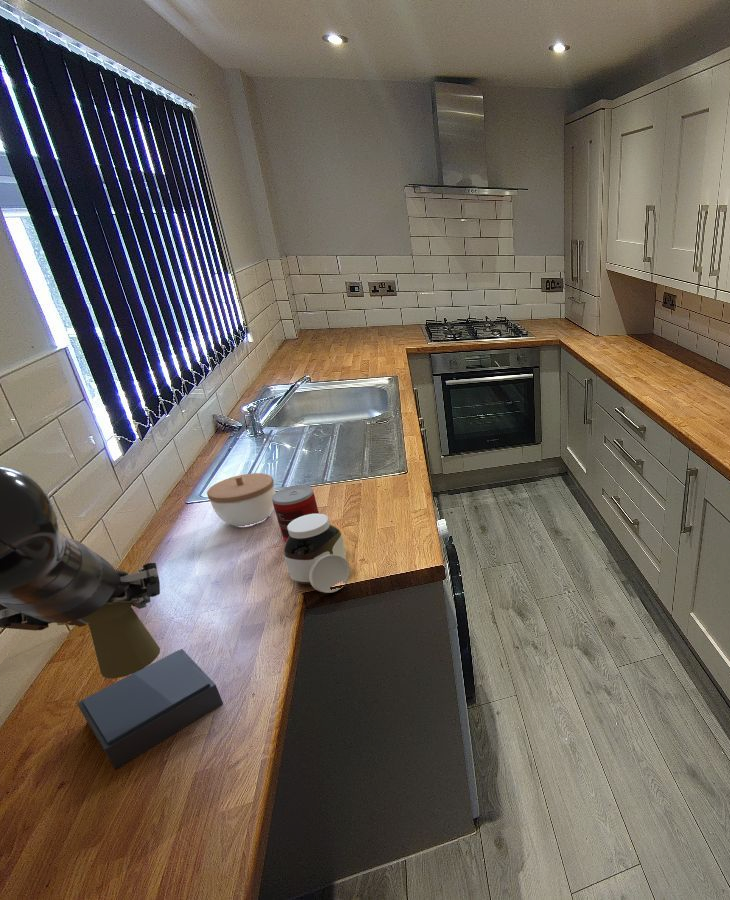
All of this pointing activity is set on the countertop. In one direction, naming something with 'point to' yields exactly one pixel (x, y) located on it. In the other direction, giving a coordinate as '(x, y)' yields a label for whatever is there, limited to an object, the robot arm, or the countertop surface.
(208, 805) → the countertop surface
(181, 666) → the rectangular box
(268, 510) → the lidded bowl
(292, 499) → the canned food
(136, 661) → the cork
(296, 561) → the spread jar
